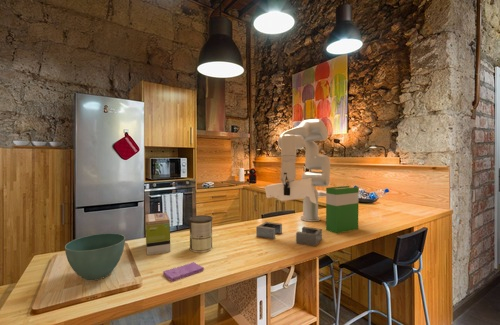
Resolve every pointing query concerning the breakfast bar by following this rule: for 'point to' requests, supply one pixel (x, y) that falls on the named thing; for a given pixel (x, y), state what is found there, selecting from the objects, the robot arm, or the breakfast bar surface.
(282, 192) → the cream elongated piece
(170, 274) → the sponges
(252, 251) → the breakfast bar surface
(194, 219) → the coffee can
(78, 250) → the green round bowl
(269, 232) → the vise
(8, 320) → the breakfast bar surface
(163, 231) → the tea box
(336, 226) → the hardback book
